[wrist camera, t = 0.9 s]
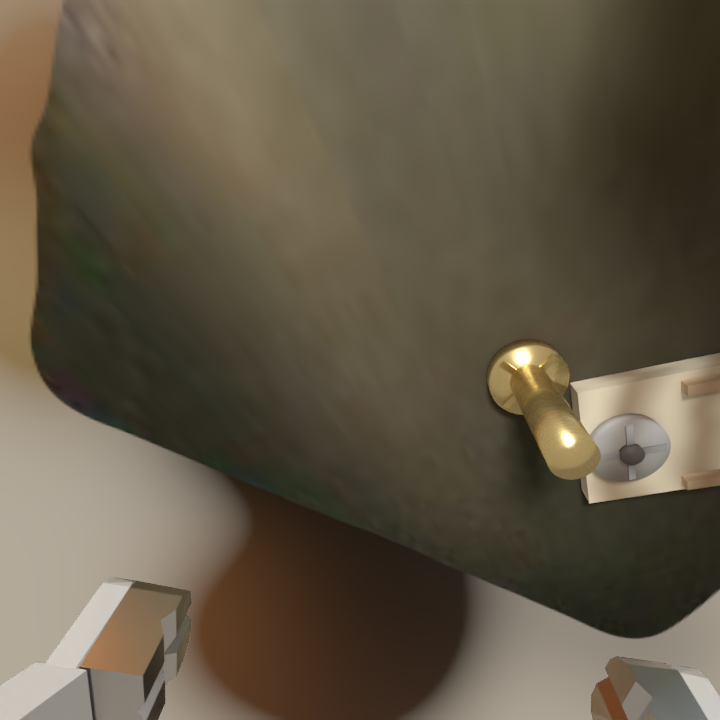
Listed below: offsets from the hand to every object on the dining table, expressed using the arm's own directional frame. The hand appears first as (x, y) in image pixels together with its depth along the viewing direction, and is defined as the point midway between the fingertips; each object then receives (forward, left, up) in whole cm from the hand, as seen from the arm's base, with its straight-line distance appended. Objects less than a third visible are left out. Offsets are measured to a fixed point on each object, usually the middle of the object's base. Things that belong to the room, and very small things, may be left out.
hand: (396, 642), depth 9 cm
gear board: (-5, +31, -33) cm, 46 cm away
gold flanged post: (+1, +15, -33) cm, 36 cm away
